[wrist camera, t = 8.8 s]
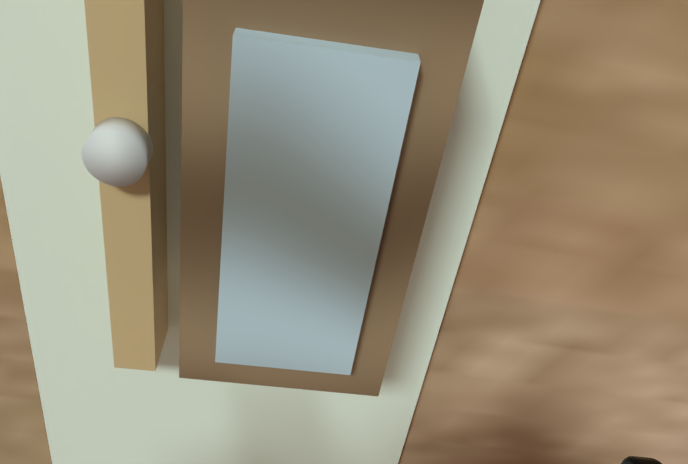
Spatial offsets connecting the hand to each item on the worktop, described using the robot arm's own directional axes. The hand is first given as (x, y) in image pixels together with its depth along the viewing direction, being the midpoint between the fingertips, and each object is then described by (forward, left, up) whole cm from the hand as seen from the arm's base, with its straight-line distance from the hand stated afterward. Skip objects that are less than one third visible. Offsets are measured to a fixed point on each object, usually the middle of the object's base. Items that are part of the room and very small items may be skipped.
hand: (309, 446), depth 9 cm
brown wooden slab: (0, 0, -10) cm, 10 cm away
